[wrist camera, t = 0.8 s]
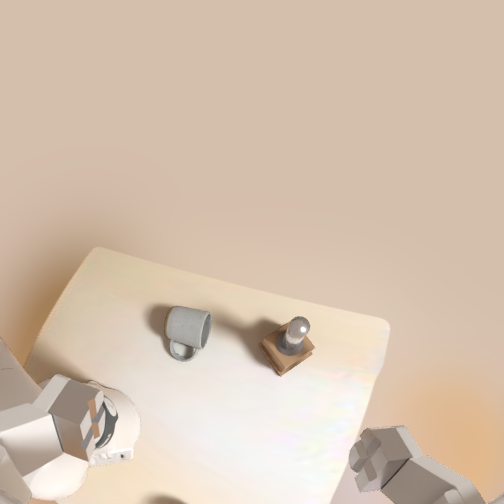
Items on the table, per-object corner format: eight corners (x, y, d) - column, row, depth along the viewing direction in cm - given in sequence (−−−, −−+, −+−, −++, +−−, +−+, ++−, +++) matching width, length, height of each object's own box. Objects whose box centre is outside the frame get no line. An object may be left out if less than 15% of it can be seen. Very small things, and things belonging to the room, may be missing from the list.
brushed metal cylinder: (288, 353, 53) (297, 339, 44) (278, 340, 54) (285, 323, 46) (301, 344, 54) (313, 328, 46) (291, 331, 55) (302, 312, 47)
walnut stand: (280, 376, 57) (285, 371, 51) (258, 345, 60) (260, 336, 55) (311, 354, 59) (319, 347, 54) (289, 325, 63) (294, 315, 57)
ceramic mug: (177, 311, 63) (169, 297, 57) (213, 319, 63) (210, 307, 56) (164, 357, 58) (154, 348, 51) (201, 366, 57) (196, 360, 51)
